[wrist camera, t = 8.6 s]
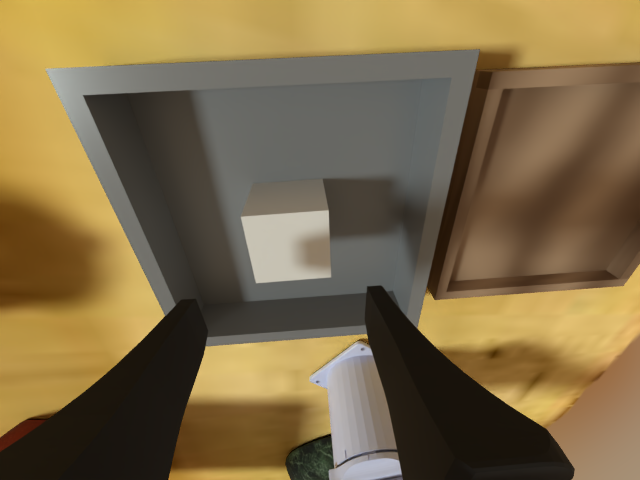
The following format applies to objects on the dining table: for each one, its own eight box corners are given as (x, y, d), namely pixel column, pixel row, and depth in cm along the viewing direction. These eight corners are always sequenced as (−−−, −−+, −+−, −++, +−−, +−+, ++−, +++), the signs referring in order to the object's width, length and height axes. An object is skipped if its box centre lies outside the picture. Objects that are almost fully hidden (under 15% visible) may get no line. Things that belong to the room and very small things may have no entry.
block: (322, 178, 18) (328, 210, 14) (325, 237, 21) (331, 277, 17) (252, 183, 18) (240, 216, 14) (263, 242, 21) (256, 283, 17)
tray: (740, 57, 16) (790, 57, 15) (601, 270, 25) (623, 285, 24) (472, 70, 16) (492, 71, 14) (425, 283, 25) (434, 299, 23)
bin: (440, 51, 15) (480, 49, 12) (401, 293, 25) (416, 330, 22) (102, 66, 15) (45, 68, 11) (197, 308, 25) (181, 348, 21)
